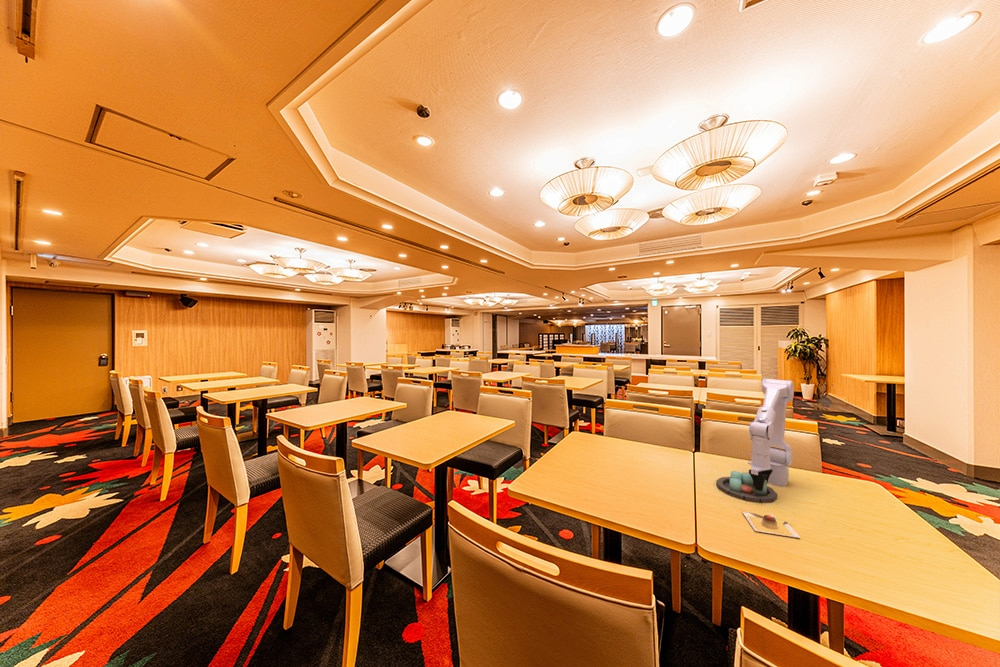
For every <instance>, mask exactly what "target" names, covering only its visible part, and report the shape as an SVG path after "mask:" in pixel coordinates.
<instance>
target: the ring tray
mask: <svg viewBox="0 0 1000 667" xmlns="http://www.w3.org/2000/svg"><path fill="white" fill-rule="evenodd" d="M730 478H731V476H723V477H719V478H718V479H716V483H715V485H716V488H717V489H718V490H719V491H721V492H722V493H724V494H725V495H727V496H730V497H732V498H736V499H738V500H741V501H745V502H751V503H756V504H768V503H774V502H775V501H776V500H777V499H778V493H777V492H776V491H775V490H774V489H773V488H772V487H770V486H768V485H767V494H766V495H760V494H757V493H755V492H754V483H753V488H752V487H750V486H748V485H744V484H741V493H738V492H735V491H732V490H730Z"/></svg>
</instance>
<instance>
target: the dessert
mask: <svg viewBox="0 0 1000 667" xmlns="http://www.w3.org/2000/svg"><path fill="white" fill-rule="evenodd" d="M742 515H744V517H745V518H746V520H747V522H748V523H749V524H750V525H751V527H752V529H753V530H754V531H755V532H757V533H764V534H770V535H776V536H783V537H790V538H795V539H801V538H802V537H801V536H800V535H799V534H798V533H797V532H796V531H795V529H794V528H793V527H792V525H790V524H789V523H788V521H784V522H783V523H782V524H783V526H784V527H785V528H786V529H787V531H789V533H790V534H791V535H789V534H784V533H783V534H781V533H776V532H768V531H763V530H758V528H756V526H755V524H754V523H753V522H752V519H750V517H752V518H758V519H759V518H760V519H762V520H761V522H760V525H761V526H762V527H764V528H766V529H769V530H775V531H777V530H778V529H779V526H778V523H777V521H776V520H777V519H776V518H775V516H774V514H772V513H771V512H770V513H769V514H764V515H760V514H757V513H752V512H745V511H742Z"/></svg>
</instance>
